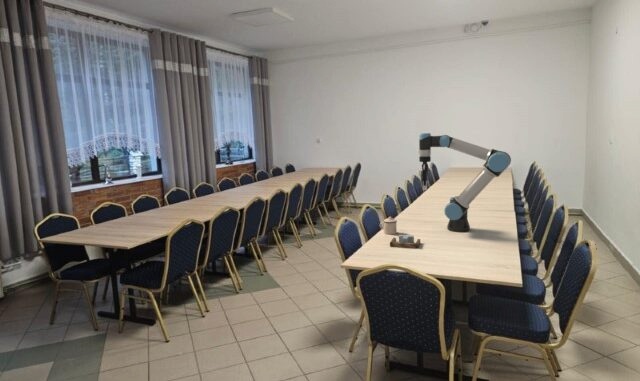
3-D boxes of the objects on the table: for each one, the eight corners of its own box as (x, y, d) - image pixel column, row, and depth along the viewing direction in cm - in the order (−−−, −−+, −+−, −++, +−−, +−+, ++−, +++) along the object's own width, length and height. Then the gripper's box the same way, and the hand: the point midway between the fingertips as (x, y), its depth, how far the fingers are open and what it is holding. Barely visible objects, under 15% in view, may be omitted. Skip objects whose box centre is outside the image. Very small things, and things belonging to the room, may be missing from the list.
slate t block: (413, 242, 256) (413, 235, 255) (412, 245, 249) (412, 238, 248) (399, 241, 259) (399, 234, 259) (397, 244, 252) (397, 238, 251)
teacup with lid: (398, 231, 283) (398, 215, 281) (395, 235, 275) (394, 218, 273) (381, 230, 288) (381, 214, 286) (378, 233, 280) (377, 217, 278)
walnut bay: (420, 242, 254) (420, 239, 254) (417, 248, 243) (417, 244, 243) (393, 241, 260) (393, 237, 260) (390, 246, 249) (389, 242, 249)
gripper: (420, 155, 282) (420, 188, 285) (418, 156, 270) (418, 191, 273) (431, 155, 279) (431, 188, 282) (429, 156, 267) (429, 191, 270)
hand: (424, 189), depth 278 cm, fingers closed
